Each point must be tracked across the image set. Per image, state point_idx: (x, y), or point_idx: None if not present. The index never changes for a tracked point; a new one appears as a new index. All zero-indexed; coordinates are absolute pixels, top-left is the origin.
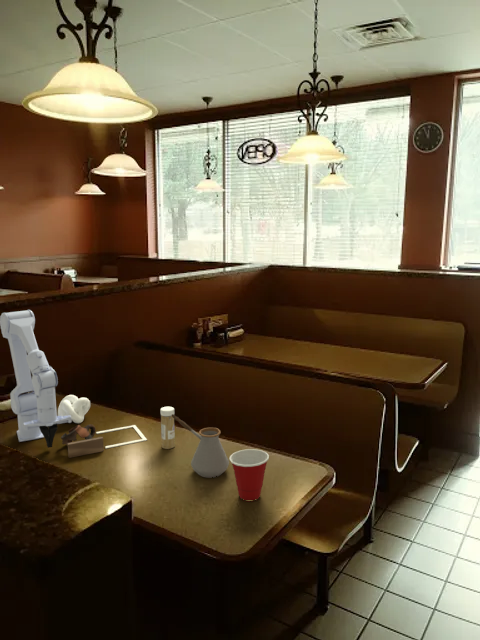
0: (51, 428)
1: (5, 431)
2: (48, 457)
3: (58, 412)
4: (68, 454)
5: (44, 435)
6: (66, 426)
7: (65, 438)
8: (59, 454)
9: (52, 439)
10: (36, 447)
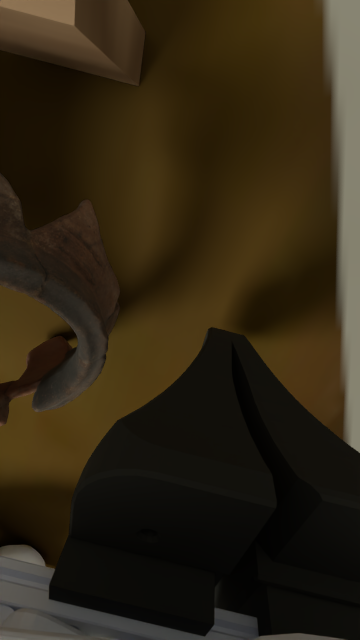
0: (239, 499)
1: None
2: (297, 212)
3: None
4: (134, 53)
5: (327, 432)
6: (33, 516)
7: (63, 267)
8: (192, 205)
9: (206, 360)
10: None
